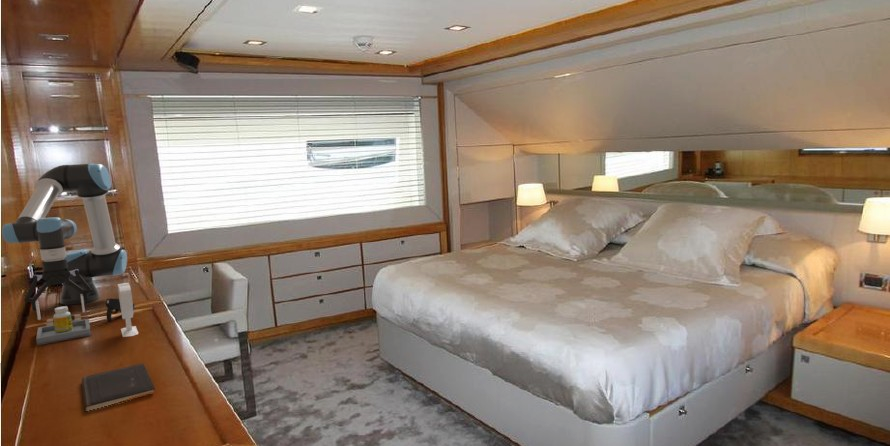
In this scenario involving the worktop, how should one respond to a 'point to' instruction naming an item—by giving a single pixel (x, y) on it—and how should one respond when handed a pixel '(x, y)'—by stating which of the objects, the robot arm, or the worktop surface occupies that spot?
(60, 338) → the tray
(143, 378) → the hardcover book
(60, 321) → the supplement bottle
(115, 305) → the gun
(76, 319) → the socket block
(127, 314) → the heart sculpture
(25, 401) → the worktop surface
